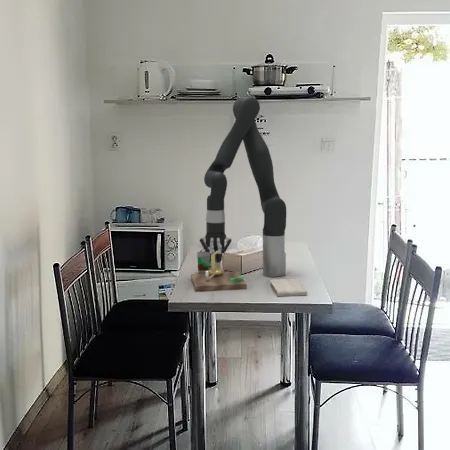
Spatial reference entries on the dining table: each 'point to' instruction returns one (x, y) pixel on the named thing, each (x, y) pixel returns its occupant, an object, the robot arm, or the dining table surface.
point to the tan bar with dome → (214, 267)
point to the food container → (204, 261)
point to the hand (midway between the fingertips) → (215, 261)
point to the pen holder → (215, 245)
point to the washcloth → (287, 287)
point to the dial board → (218, 282)
